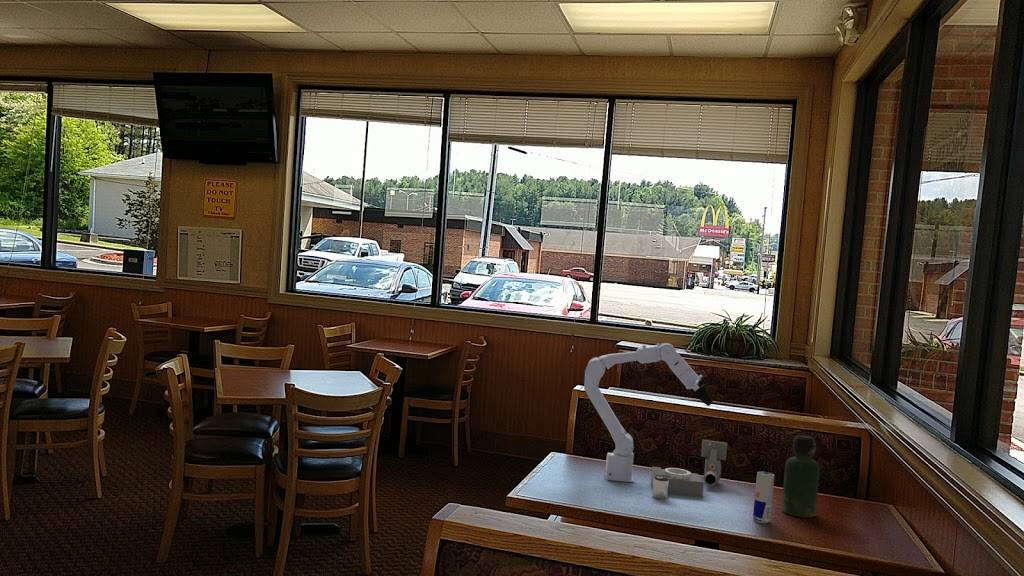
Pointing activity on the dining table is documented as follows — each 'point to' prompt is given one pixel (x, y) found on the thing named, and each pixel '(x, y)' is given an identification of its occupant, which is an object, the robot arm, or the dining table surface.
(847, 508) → the dining table surface
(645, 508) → the dining table surface
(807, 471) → the green bottle
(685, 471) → the mount block
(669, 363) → the robot arm
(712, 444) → the camera
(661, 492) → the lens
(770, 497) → the beverage can
